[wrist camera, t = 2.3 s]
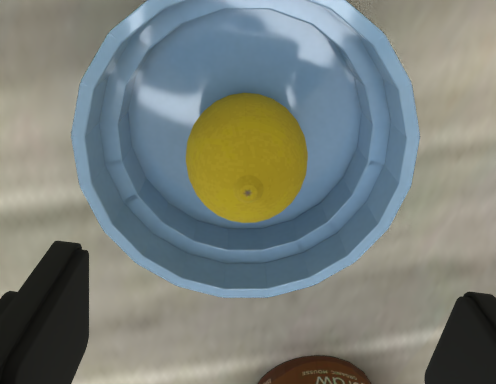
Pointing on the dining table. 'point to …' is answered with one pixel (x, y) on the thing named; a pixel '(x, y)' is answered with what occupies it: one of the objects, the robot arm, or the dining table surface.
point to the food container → (315, 372)
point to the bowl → (233, 82)
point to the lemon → (246, 157)
